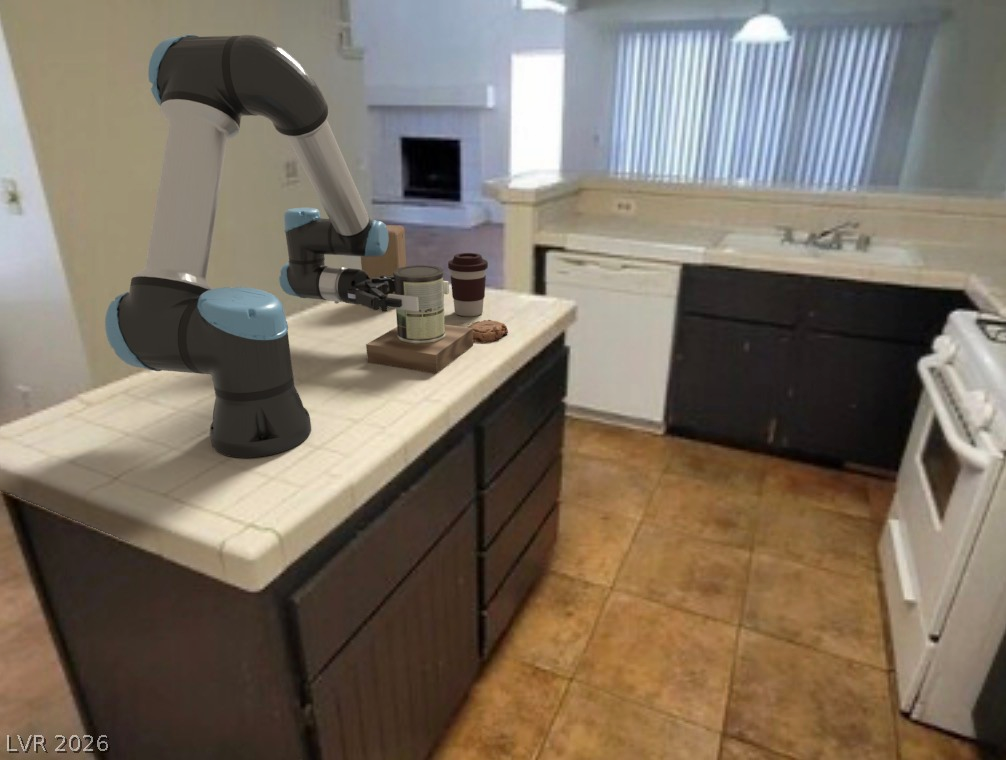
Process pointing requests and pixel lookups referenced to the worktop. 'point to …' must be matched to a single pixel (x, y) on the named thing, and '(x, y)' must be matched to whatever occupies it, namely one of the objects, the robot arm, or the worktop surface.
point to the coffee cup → (468, 283)
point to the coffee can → (421, 304)
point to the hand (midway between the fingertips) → (433, 295)
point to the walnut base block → (420, 350)
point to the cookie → (488, 330)
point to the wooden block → (388, 255)
